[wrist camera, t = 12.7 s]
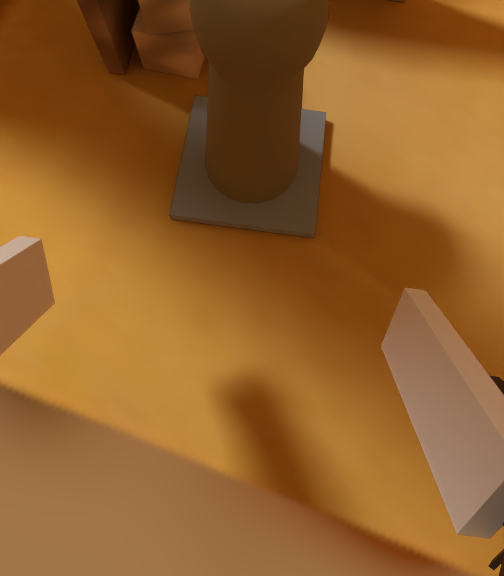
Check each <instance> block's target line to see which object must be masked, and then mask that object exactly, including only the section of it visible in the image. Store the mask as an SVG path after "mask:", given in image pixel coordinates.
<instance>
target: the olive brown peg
mask: <svg viewBox="0 0 504 576" xmlns="http://www.w3.org/2000/svg"><path fill="white" fill-rule="evenodd" d="M189 9H190V15H191V22H192V26H193V29H194V32H195V36H196V39H197V42H198V44H199V47H200V49H201V52H202V54H203V55H204V56H205V58H206V59H207V60H208V61H209V76H208V100H207V124H206V148H205V168H206V172H207V175H208V178H209V180H210V181H211V183H212V184H213V185H214V187H215V188H216V189H217V190H218V191H219V192H221V193H222V194H223V195H225V196H226V197H228V198H230V199H233V200H235V201H238V202H241V203H255V204H258V203H262V202H266V201H270V200H273V199H275V198H276V197H278V196H280V195H281V194H283V193H285V191H286V190H287V189H288V188H289V187H290V186H291V184H292V183H293V182H294V179H295V176H296V174H297V171H298V159H299V142H300V125H301V109H302V92H303V75H304V68H305V67H306V65H307V64H308V63H309V62H310V61H311V60H312V59H313V57H314V55H315V53H316V51H317V49H318V47H319V45H320V42H321V40H322V37H323V35H324V32H325V28H326V25H327V21H328V17H329V0H190V7H189Z"/></svg>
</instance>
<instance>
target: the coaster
mask: <svg viewBox="0 0 504 576" xmlns="http://www.w3.org/2000/svg"><path fill="white" fill-rule="evenodd" d="M207 100H208V97H207V96H199V95H195V96H194V100H193V105H192V110H191V115H190V119H189V124H188V129H187V134H186V138H185V143H184V148H183V153H182V157H181V162H180V167H179V171H178V176H177V181H176V186H175V190H174V195H173V200H172V205H171V209H170V214H169V215H170V217H171V219H175V220H182V221H190V222H197V223H205V224H212V225H220V226H227V227H235V228H242V229H250V230H257V231H265V232H272V233H280V234H287V235H295V236H302V237H310V238H314V236H315V233H316V222H317V211H318V199H319V188H320V176H321V165H322V153H323V142H324V131H325V119H326V112H320V111H312V110H305V109H301V125H300V142H299V159H298V171H297V174H296V176H295V179H294V182H293V183H292V184H291V186H290V187H289V188H288V189H287V190H286V191H285V193H283V194H281V195H280V196H278V197H276V198H275V199H273V200H270V201H266V202H262V203H258V204H255V203H241V202H238V201H235V200H233V199H230V198H228V197H226V196H225V195H223V194H222V193H221V192H219V191H218V190H217V189H216V188H215V187H214V185H213V184H212V183H211V181H210V180H209V178H208V175H207V172H206V168H205V148H206V124H207Z"/></svg>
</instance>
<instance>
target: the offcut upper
mask: <svg viewBox="0 0 504 576" xmlns="http://www.w3.org/2000/svg"><path fill="white" fill-rule="evenodd" d="M138 2H139V5H140V9H141V13H142V16H143V20H144V24H145V27H146V31H147V35H153V34H163V33H174V32H184V31H194V29H193V26H192V22H191V15H190V9H189V7H190V0H138Z"/></svg>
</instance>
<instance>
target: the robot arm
mask: <svg viewBox="0 0 504 576" xmlns="http://www.w3.org/2000/svg"><path fill="white" fill-rule="evenodd" d="M54 304H55V300H54V295H53V291H52V286H51V281H50V277H49V272H48V268H47V263H46V258H45V254H44V249H43V245H42V240H41V239H39V238H31V237H24V236H19V237H17V238H15V239H14V240H12V241H10V242H8V243H7V244H5V245H3V246H1V247H0V355H1V354H2V353H3V352H4V351H5V350H6V349H7V348H9V347H10V346H11V345H12V344H13V343H14V342H15V341H16V340H17V339H18V338H19V337H20V336H21V335H22V334H23V333H24V332H25V331H26V330H27V329H28V328H29V327H31V326H32V325H33V324H34V323H35V322H36V321H37V320H38V319H39V318H40V317H41V316H42V315H43V314H44V313H45V312H46V311H47V310H48V309H49V308H50V307H51V306H52V305H54ZM381 348H382V350H383V353H384V355H385V358H386V360H387V363H388V365H389V368H390V370H391V373H392V375H393V378H394V380H395V383H396V385H397V388H398V390H399V392H400V395H401V397H402V400H403V402H404V405H405V407H406V410H407V412H408V415H409V417H410V420H411V422H412V425H413V427H414V430H415V432H416V434H417V437H418V439H419V442H420V444H421V447H422V449H423V452H424V454H425V457H426V459H427V462H428V464H429V467H430V469H431V471H432V474H433V476H434V479H435V481H436V484H437V486H438V489H439V491H440V494H441V496H442V499H443V501H444V504H445V506H446V509H447V511H448V513H449V516H450V518H451V521H452V523H453V526H454V528H455V531H456V533H457V534H459V535H467V536H475V537H482V538H491V537H492V536H493V535H494V534H495V533H496V532H497V531H498V530H499V529H500V528H501V527H502V526H503V525H504V381H502V380H501V379H500V378H499V377H495V376H489V375H488V373H487V372H486V371H485V369H484V368H483V367H482V365H481V364H480V363H479V361H478V360H477V358H476V357H475V356H474V354H473V353H472V352H471V350H470V349H469V348H468V346H467V345H466V344H465V342H464V341H463V340H462V338H461V337H460V336H459V334H458V333H457V332H456V330H455V329H454V328H453V326H452V325H451V324H450V322H449V321H448V320H447V318H446V317H445V315H444V314H443V313H442V311H441V310H440V309H439V307H438V306H437V305H436V303H435V302H434V301H433V299H432V298H431V297H430V295H429V294H428V293H427V291H426V290H420V289H413V288H404V290H403V293H402V295H401V298H400V300H399V303H398V305H397V307H396V310H395V312H394V315H393V317H392V320H391V322H390V325H389V327H388V330H387V332H386V335H385V337H384V340H383V342H382V345H381ZM500 564H502V565H501V569H500V573H499V576H504V549H503V550H502V551H501V552H500V553H499V554H498V555H497V556H496V557H495V558H494V559H493V560H492V561H491V563H490V564H489V567H490V568H492V569H493V570H495V569H496V568H497V567H498V566H499V565H500Z"/></svg>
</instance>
